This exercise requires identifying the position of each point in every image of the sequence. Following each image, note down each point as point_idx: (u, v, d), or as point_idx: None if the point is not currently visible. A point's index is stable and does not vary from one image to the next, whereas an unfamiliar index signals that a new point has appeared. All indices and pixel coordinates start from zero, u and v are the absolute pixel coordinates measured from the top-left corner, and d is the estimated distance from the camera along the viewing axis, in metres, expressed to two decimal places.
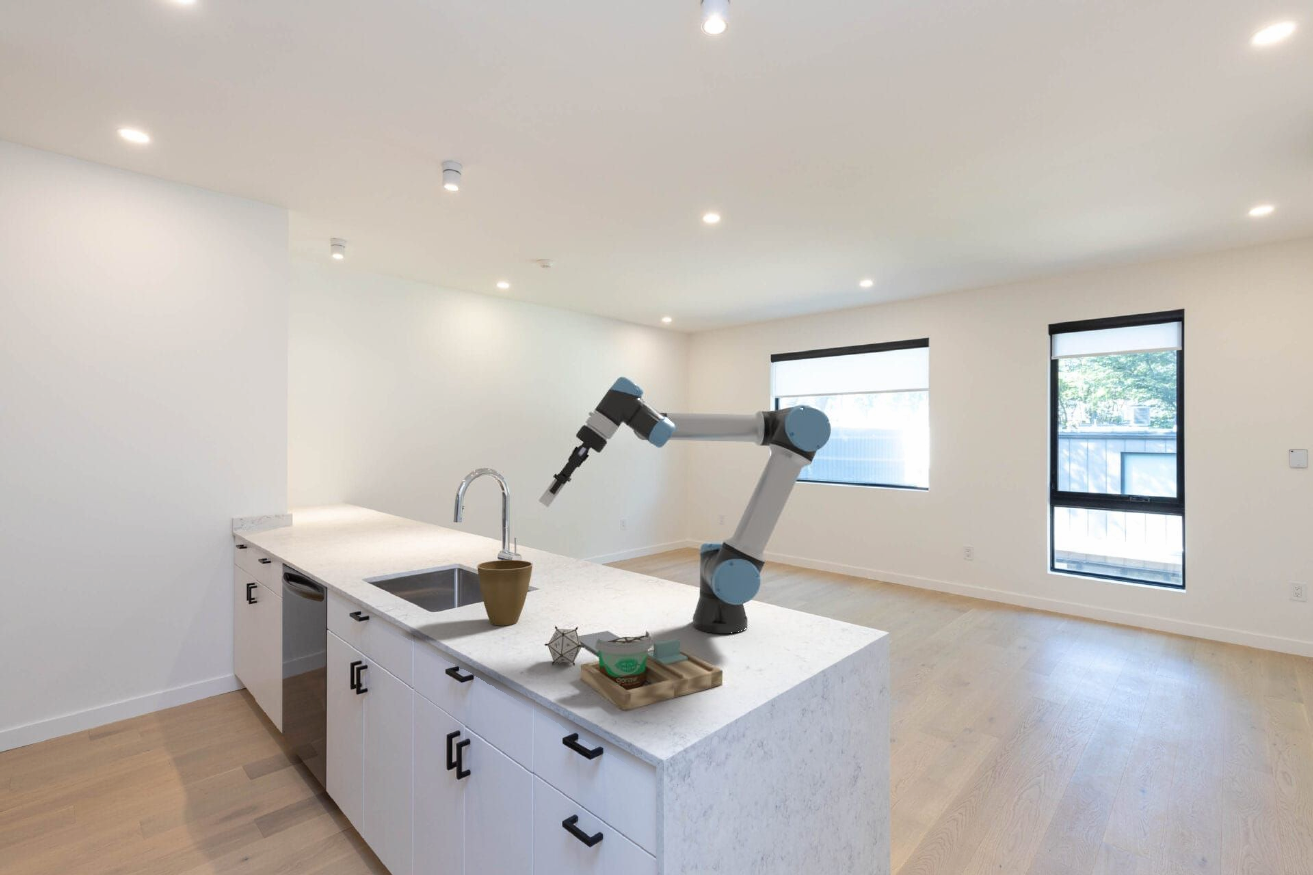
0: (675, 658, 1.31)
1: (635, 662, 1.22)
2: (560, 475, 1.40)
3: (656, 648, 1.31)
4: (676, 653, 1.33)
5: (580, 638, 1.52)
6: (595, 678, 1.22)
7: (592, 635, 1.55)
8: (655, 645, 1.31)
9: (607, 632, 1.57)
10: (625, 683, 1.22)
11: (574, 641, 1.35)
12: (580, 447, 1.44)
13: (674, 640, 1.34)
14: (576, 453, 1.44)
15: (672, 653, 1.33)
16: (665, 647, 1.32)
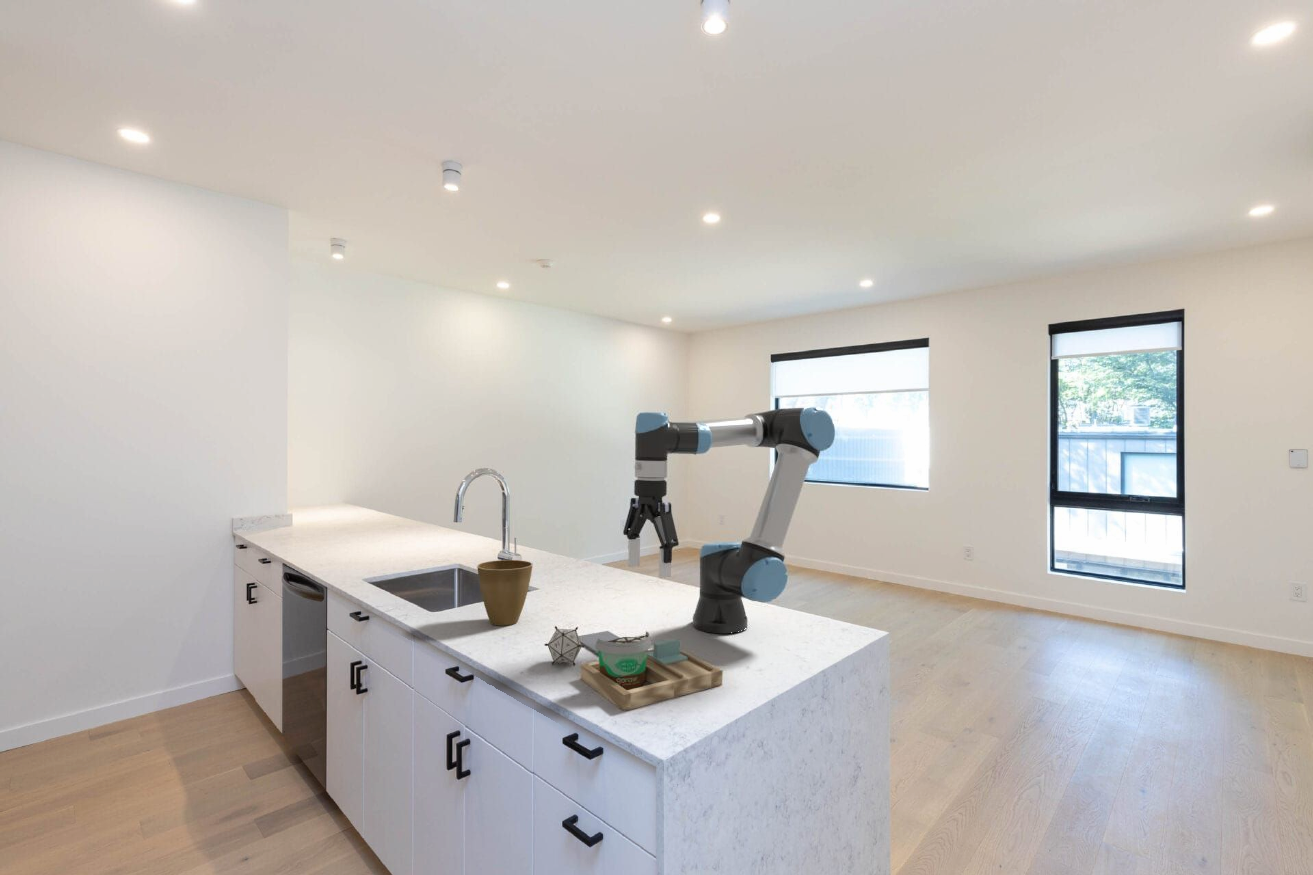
0: (675, 658, 1.31)
1: (635, 662, 1.22)
2: (671, 543, 1.31)
3: (656, 648, 1.31)
4: (676, 653, 1.33)
5: (580, 638, 1.52)
6: (595, 678, 1.22)
7: (592, 635, 1.55)
8: (655, 645, 1.31)
9: (607, 632, 1.57)
10: (625, 683, 1.22)
11: (574, 641, 1.35)
12: (663, 505, 1.33)
13: (674, 640, 1.34)
14: (664, 513, 1.33)
15: (672, 653, 1.33)
16: (665, 647, 1.32)
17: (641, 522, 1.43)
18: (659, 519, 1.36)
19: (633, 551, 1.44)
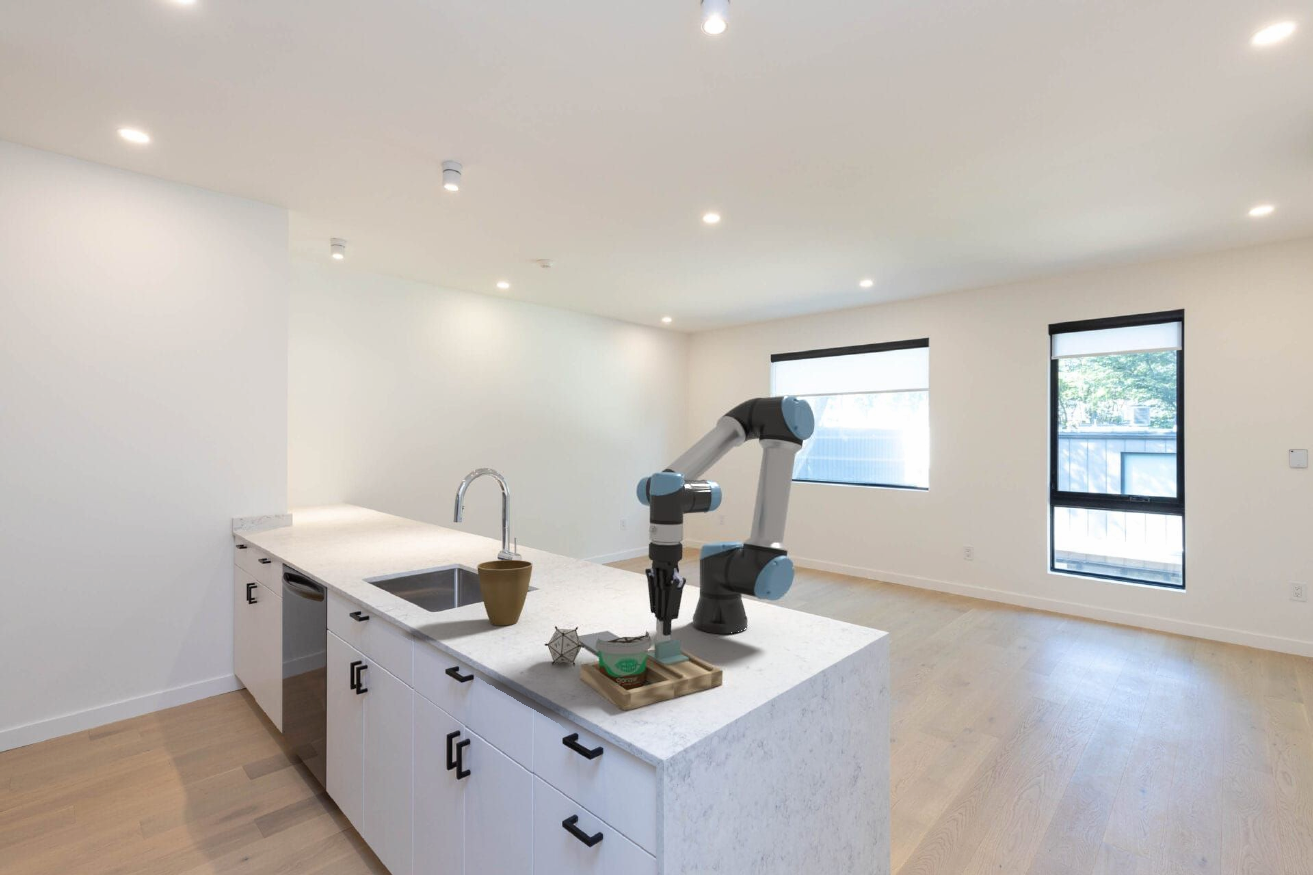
0: (676, 659, 1.31)
1: (635, 662, 1.22)
2: (670, 616, 1.30)
3: (657, 649, 1.31)
4: (677, 654, 1.33)
5: (580, 638, 1.52)
6: (595, 678, 1.22)
7: (592, 635, 1.55)
8: (656, 646, 1.31)
9: (607, 632, 1.57)
10: (625, 683, 1.22)
11: (574, 641, 1.35)
12: (677, 583, 1.28)
13: (675, 641, 1.33)
14: (675, 589, 1.29)
15: (673, 654, 1.32)
16: (666, 648, 1.31)
17: None
18: (669, 588, 1.32)
19: None
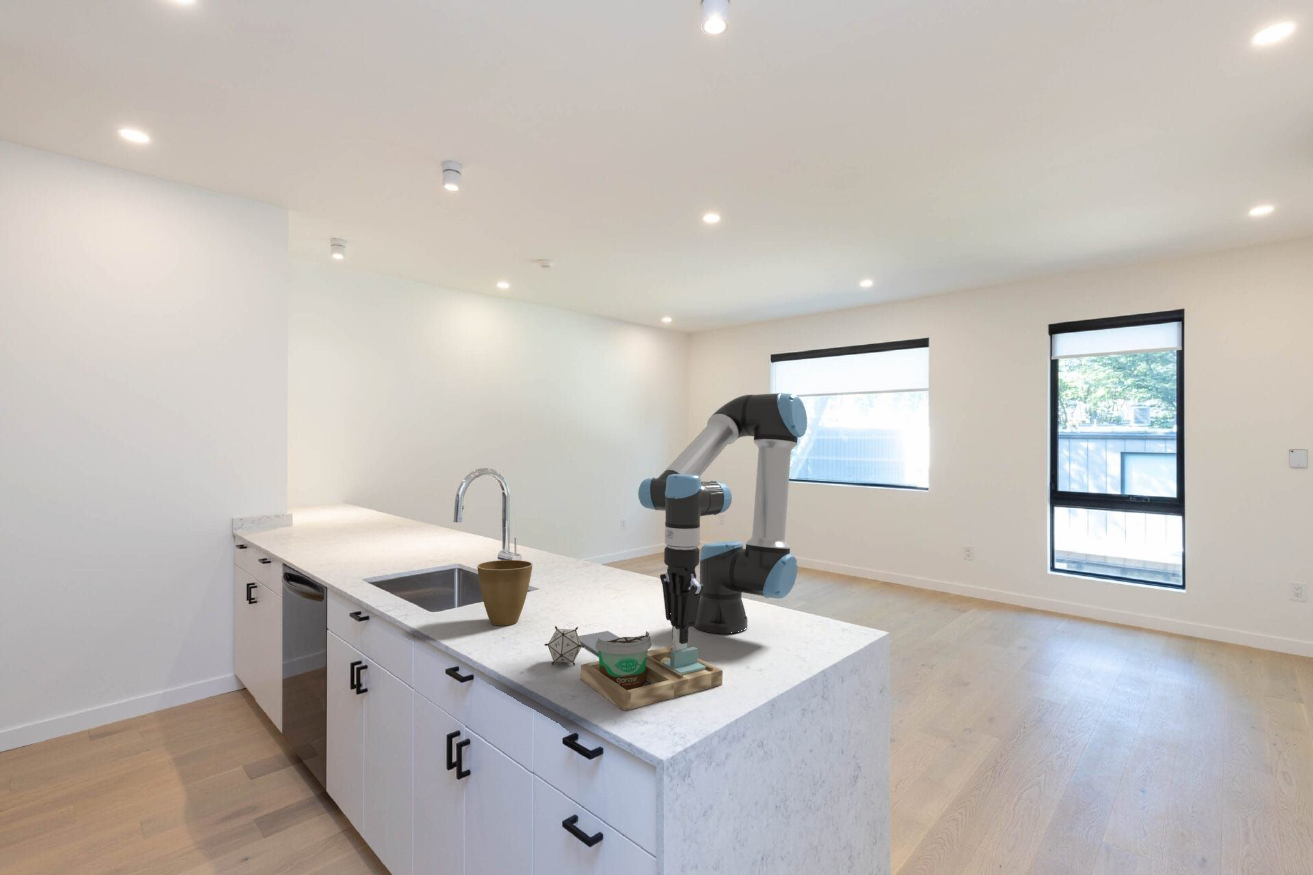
0: (693, 667, 1.26)
1: (635, 662, 1.22)
2: (687, 624, 1.25)
3: (673, 657, 1.26)
4: (694, 662, 1.28)
5: (580, 638, 1.52)
6: (595, 678, 1.22)
7: (592, 635, 1.55)
8: (672, 654, 1.26)
9: (607, 632, 1.57)
10: (625, 683, 1.22)
11: (574, 641, 1.35)
12: (695, 589, 1.23)
13: (692, 649, 1.28)
14: (693, 595, 1.24)
15: (689, 663, 1.27)
16: (682, 656, 1.26)
17: None
18: (686, 595, 1.27)
19: None
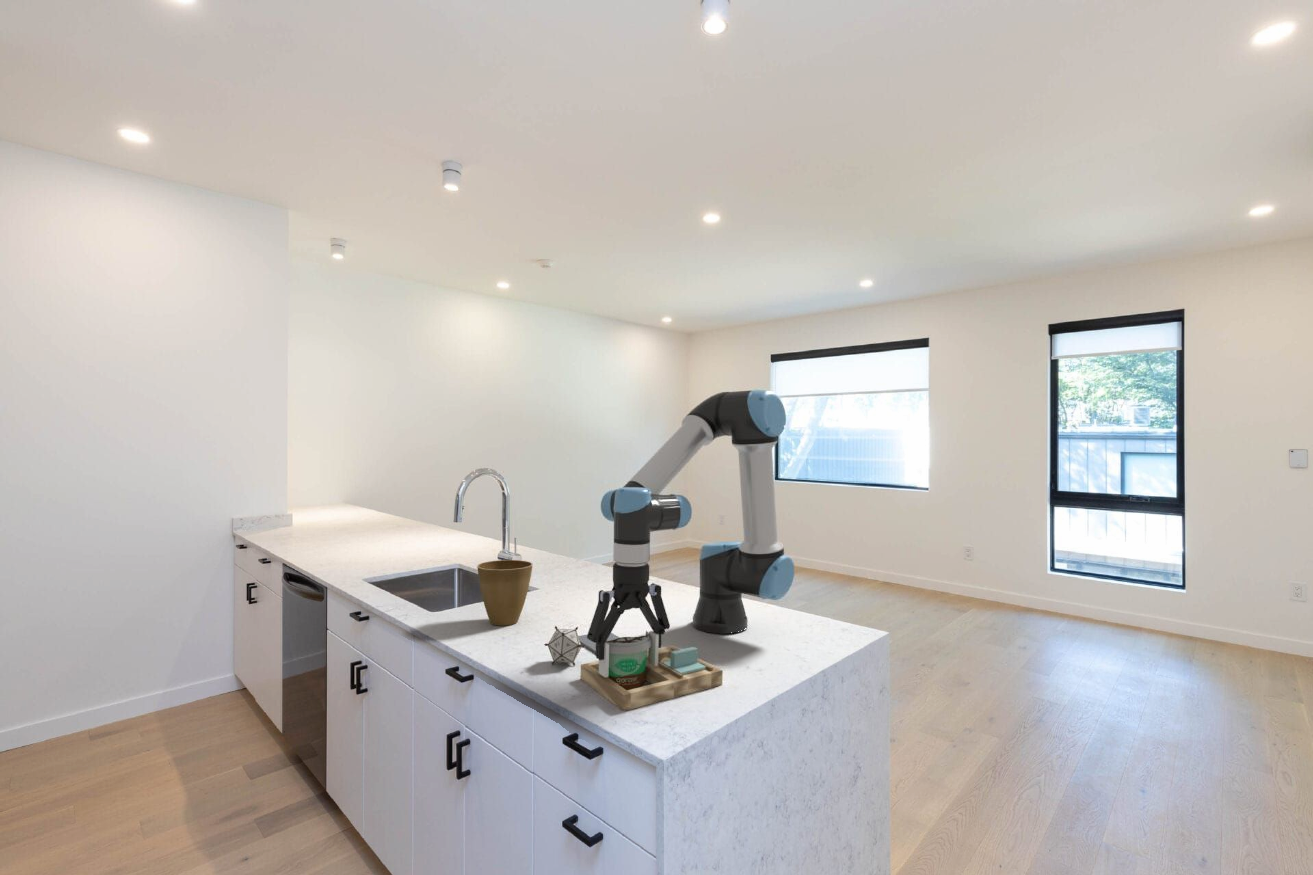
0: (693, 668, 1.26)
1: (635, 662, 1.22)
2: (588, 636, 1.19)
3: (673, 657, 1.26)
4: (694, 662, 1.28)
5: (580, 638, 1.52)
6: (595, 678, 1.22)
7: None
8: (672, 654, 1.26)
9: None
10: (625, 683, 1.22)
11: (574, 641, 1.35)
12: (599, 593, 1.21)
13: (692, 649, 1.28)
14: (599, 602, 1.21)
15: (689, 663, 1.27)
16: (682, 656, 1.26)
17: (644, 612, 1.26)
18: (614, 608, 1.22)
19: None
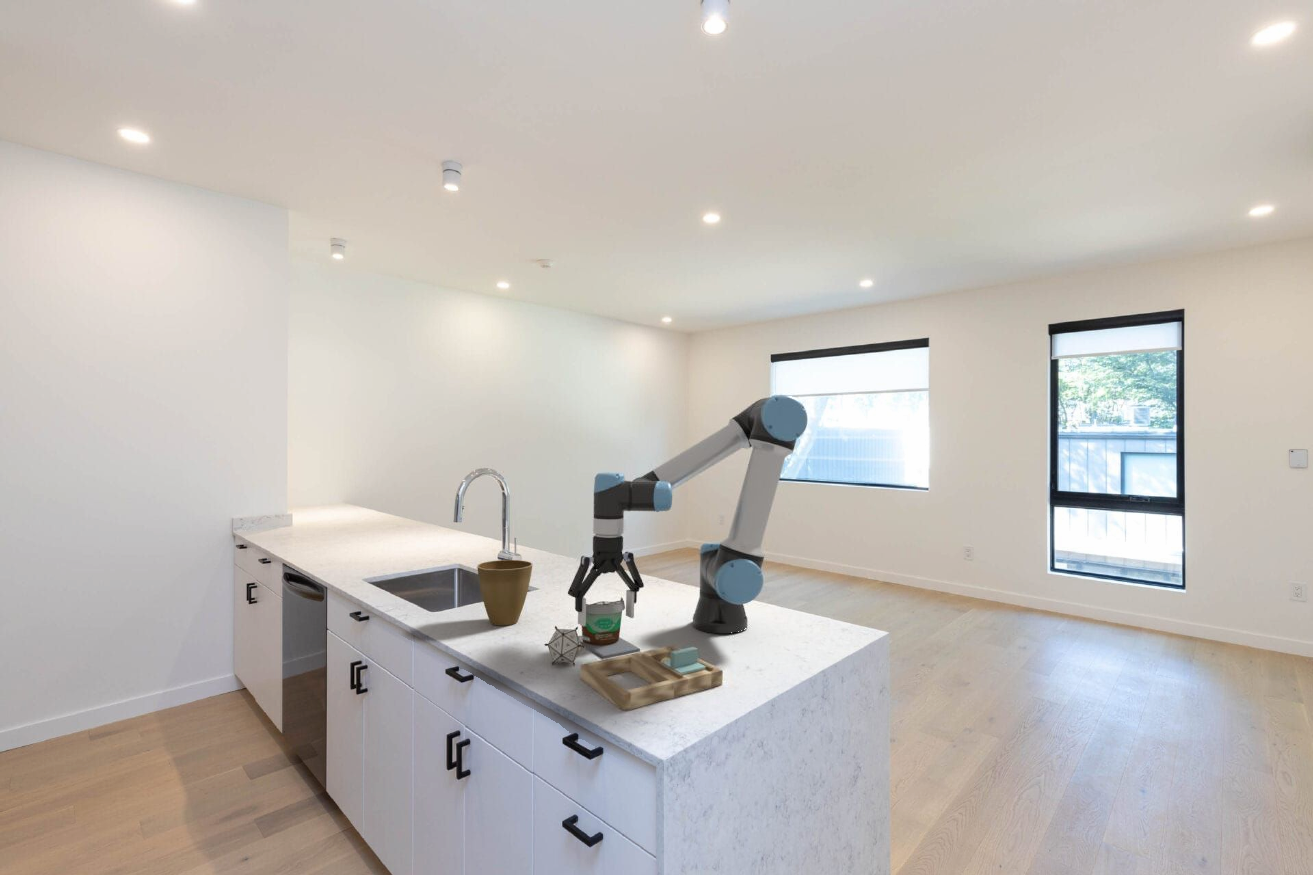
0: (693, 668, 1.26)
1: (610, 621, 1.48)
2: (569, 592, 1.45)
3: (673, 657, 1.26)
4: (694, 662, 1.28)
5: (580, 638, 1.52)
6: (595, 678, 1.22)
7: None
8: (672, 654, 1.26)
9: None
10: (602, 638, 1.47)
11: (574, 641, 1.35)
12: (581, 558, 1.47)
13: (692, 649, 1.28)
14: (580, 565, 1.46)
15: (689, 663, 1.27)
16: (682, 656, 1.26)
17: (621, 575, 1.52)
18: (592, 571, 1.47)
19: (627, 602, 1.53)
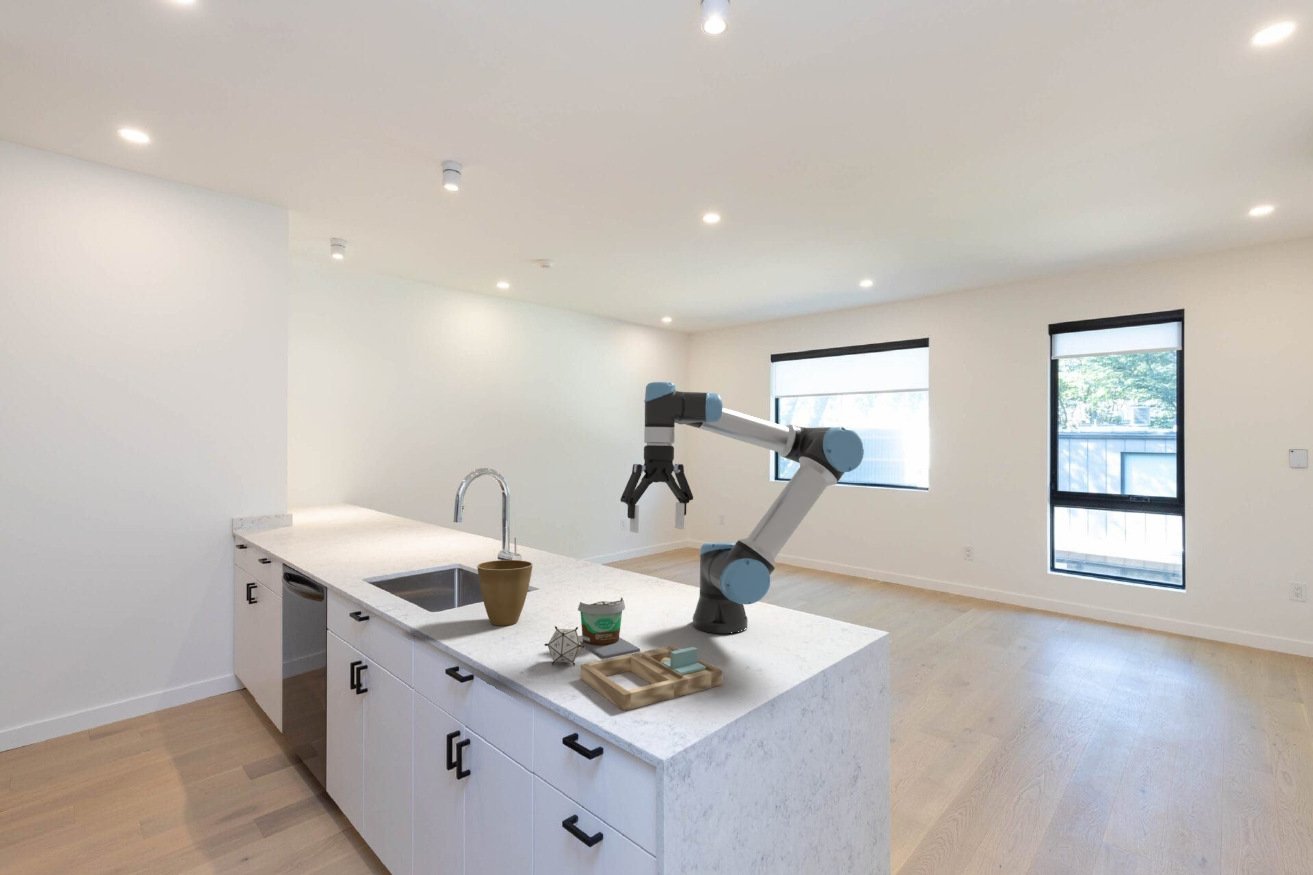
0: (693, 668, 1.26)
1: (610, 621, 1.48)
2: (621, 498, 1.45)
3: (673, 657, 1.26)
4: (694, 662, 1.28)
5: (580, 638, 1.52)
6: (595, 678, 1.22)
7: None
8: (672, 654, 1.26)
9: None
10: (602, 638, 1.47)
11: (574, 641, 1.35)
12: (633, 465, 1.47)
13: (692, 649, 1.28)
14: (632, 472, 1.46)
15: (689, 663, 1.27)
16: (682, 656, 1.26)
17: (671, 486, 1.52)
18: (644, 480, 1.47)
19: (677, 514, 1.53)
